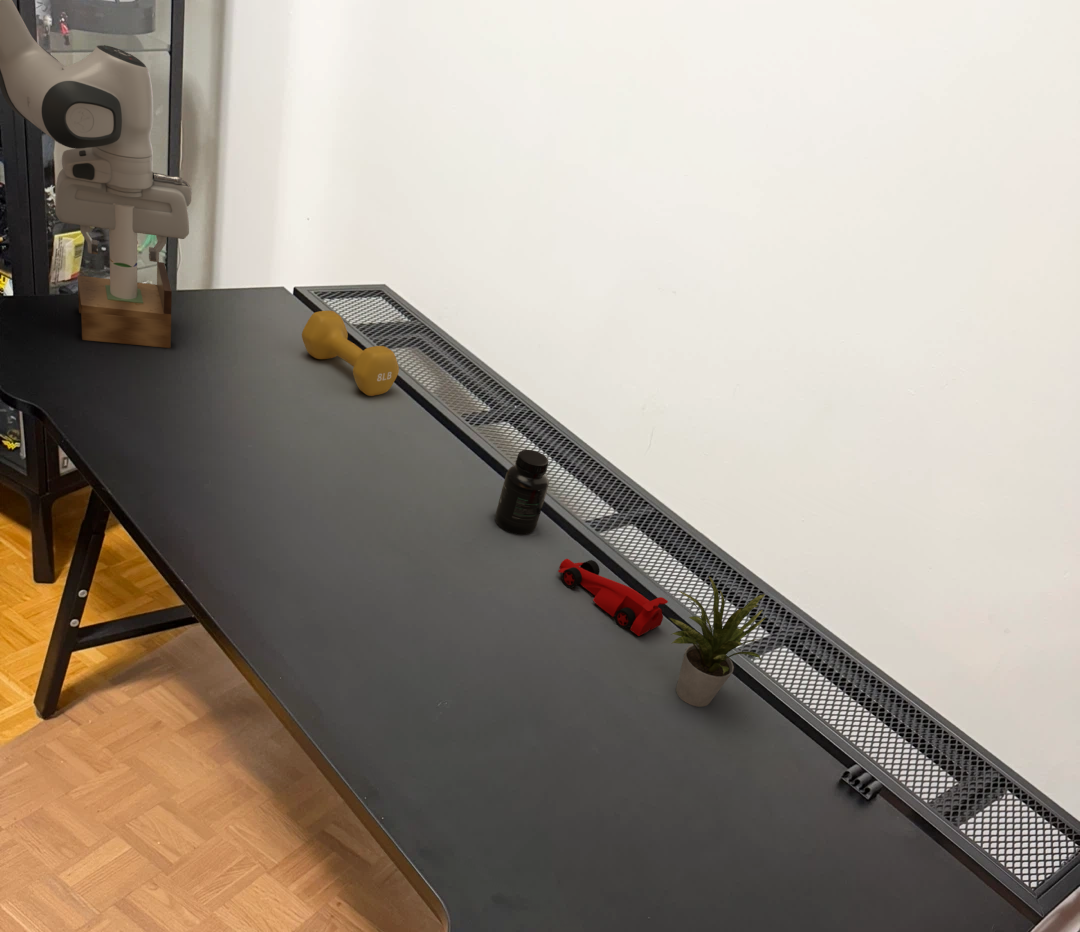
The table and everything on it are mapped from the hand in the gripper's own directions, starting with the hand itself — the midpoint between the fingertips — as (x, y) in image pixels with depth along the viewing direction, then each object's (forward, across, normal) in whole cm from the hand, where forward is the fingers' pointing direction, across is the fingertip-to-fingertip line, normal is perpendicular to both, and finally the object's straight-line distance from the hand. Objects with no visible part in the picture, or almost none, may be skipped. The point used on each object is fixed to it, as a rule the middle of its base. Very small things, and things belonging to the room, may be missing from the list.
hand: (123, 256), depth 169 cm
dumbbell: (+13, -37, +10) cm, 41 cm away
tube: (+6, 0, 0) cm, 6 cm away
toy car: (+13, -62, +78) cm, 100 cm away
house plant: (+13, -67, +98) cm, 120 cm away
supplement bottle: (+13, -54, +58) cm, 80 cm away
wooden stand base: (+12, 0, 0) cm, 12 cm away
